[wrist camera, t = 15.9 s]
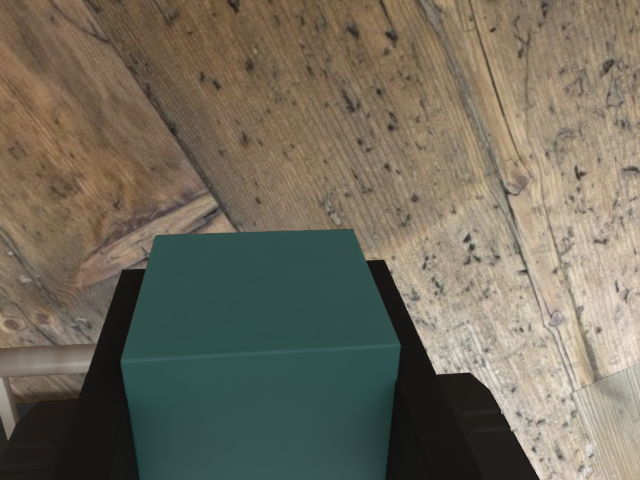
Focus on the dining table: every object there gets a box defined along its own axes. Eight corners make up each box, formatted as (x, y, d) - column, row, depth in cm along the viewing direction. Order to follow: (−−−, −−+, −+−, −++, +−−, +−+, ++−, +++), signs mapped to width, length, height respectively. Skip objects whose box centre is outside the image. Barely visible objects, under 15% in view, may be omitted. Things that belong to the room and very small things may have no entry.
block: (154, 234, 13) (119, 360, 9) (353, 227, 14) (402, 344, 10) (172, 391, 15) (149, 551, 11) (345, 380, 16) (381, 529, 12)
